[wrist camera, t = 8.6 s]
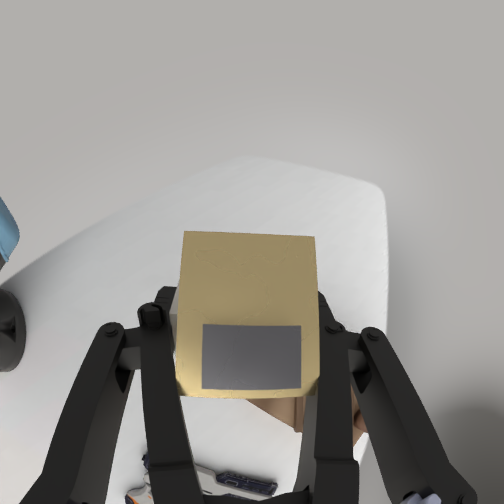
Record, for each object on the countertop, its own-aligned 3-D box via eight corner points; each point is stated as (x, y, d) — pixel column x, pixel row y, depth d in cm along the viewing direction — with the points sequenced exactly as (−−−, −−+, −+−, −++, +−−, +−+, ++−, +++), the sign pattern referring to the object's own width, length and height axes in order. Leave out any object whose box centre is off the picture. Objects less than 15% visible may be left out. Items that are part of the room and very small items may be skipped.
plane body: (241, 394, 34) (243, 402, 28) (288, 327, 38) (300, 323, 31) (336, 448, 32) (353, 461, 25) (377, 385, 35) (400, 389, 29)
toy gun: (125, 500, 26) (149, 435, 31) (242, 541, 24) (277, 480, 30) (119, 507, 23) (143, 440, 29) (242, 550, 22) (280, 487, 27)
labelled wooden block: (202, 370, 19) (169, 401, 7) (204, 290, 21) (179, 217, 9) (270, 371, 19) (331, 400, 8) (270, 292, 21) (324, 223, 10)
